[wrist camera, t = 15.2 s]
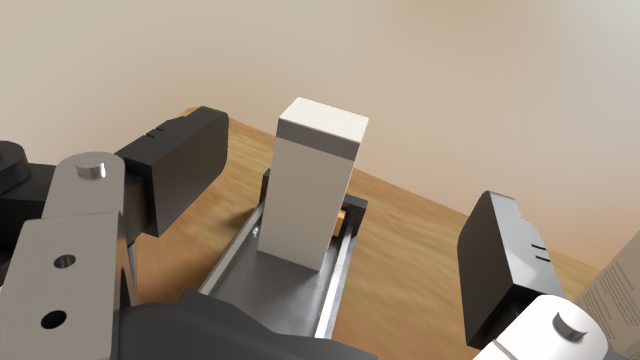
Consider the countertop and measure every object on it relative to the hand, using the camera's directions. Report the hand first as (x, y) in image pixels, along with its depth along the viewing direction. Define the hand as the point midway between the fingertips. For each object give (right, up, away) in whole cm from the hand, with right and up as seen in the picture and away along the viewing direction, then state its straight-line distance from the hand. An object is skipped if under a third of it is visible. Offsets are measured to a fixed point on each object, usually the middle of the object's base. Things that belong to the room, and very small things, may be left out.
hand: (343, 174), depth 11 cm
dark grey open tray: (-4, -7, +15) cm, 17 cm away
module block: (-3, -5, +17) cm, 18 cm away
